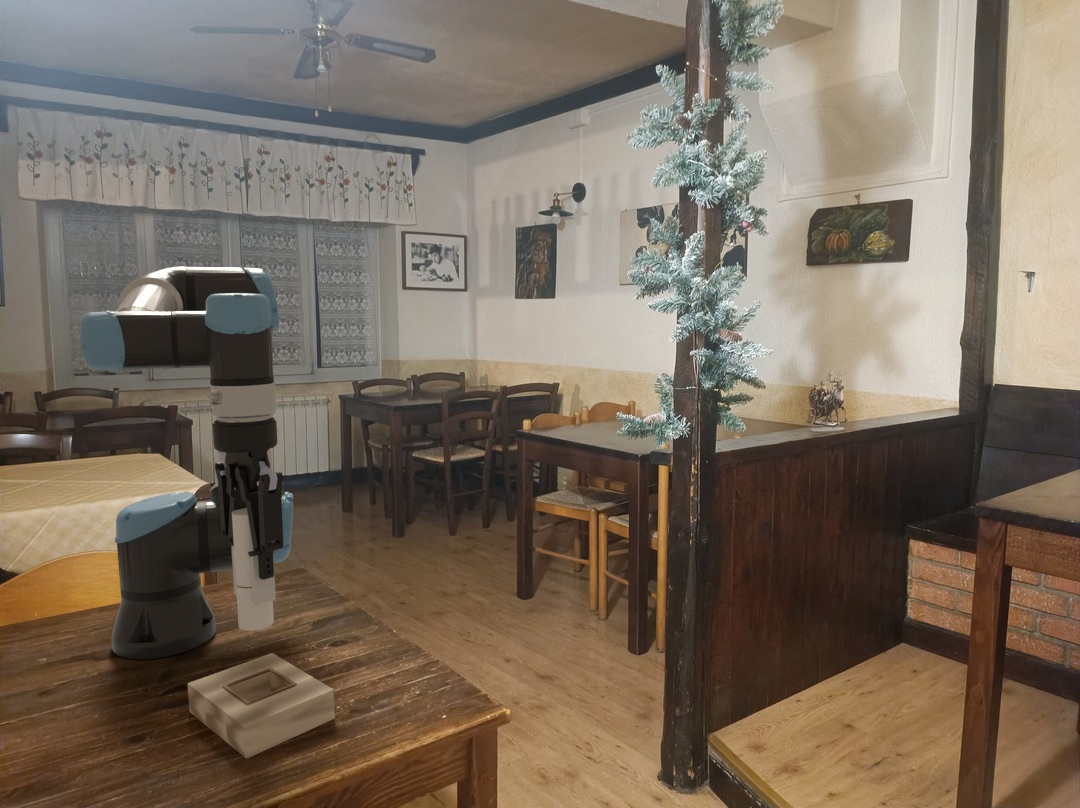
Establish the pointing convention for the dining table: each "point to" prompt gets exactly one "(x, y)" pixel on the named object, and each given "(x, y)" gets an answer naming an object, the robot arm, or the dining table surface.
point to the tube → (247, 578)
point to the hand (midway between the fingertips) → (254, 596)
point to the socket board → (260, 703)
